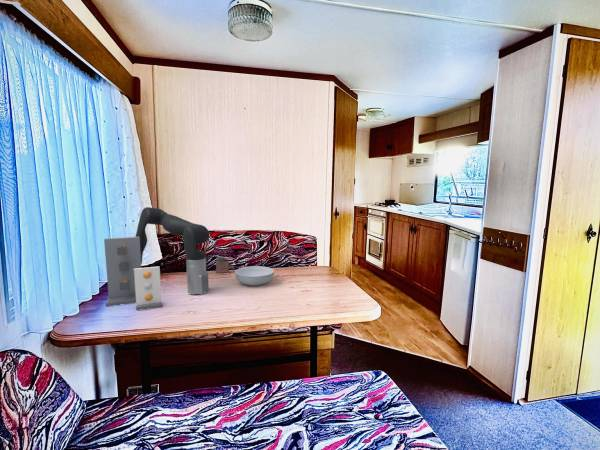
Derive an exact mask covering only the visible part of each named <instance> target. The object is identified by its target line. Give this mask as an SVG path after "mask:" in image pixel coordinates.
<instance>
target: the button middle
mask: <svg viewBox="0 0 600 450" xmlns="http://www.w3.org/2000/svg"><path fill="white" fill-rule="evenodd" d="M119 270H120V271H127V270H128V262H127V263H119Z"/></svg>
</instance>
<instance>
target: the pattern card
mask: <svg viewBox="0 0 600 450" xmlns="http://www.w3.org/2000/svg"><path fill="white" fill-rule="evenodd" d="M160 270H161V269H160V266H150V267H149V266H148V267H141V268H137V269H134V278H135V292H136V303H135V304H136V305H135V306H136V307H135V311H136V310H138V311H141V310H140V309H145V310H148V309H147V308H153V309H155V308H154V307H160V308H162V304H163V301H162V288H161V285H162V284H161V271H160Z"/></svg>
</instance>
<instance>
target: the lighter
mask: <svg viewBox="0 0 600 450" xmlns="http://www.w3.org/2000/svg"><path fill="white" fill-rule="evenodd" d="M215 268H216V269H215V270H216V272H215V274H216V273H223V274H222V275H225V274H224V273H229V274H230V261H229V260H228V257H224V256H221V257H220V256H217V257H216V260H215Z"/></svg>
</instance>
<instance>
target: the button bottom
mask: <svg viewBox="0 0 600 450" xmlns="http://www.w3.org/2000/svg"><path fill="white" fill-rule="evenodd" d="M128 289H129V280H122V282H120V290H128Z"/></svg>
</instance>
